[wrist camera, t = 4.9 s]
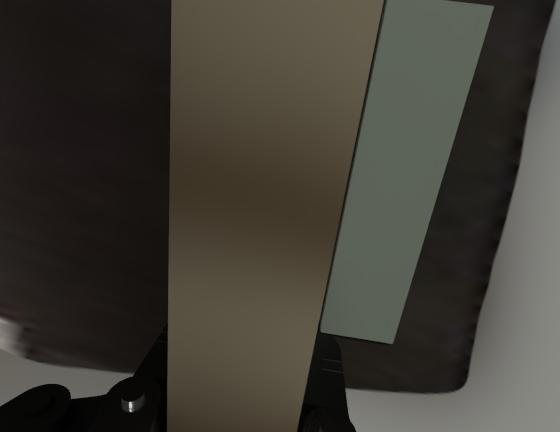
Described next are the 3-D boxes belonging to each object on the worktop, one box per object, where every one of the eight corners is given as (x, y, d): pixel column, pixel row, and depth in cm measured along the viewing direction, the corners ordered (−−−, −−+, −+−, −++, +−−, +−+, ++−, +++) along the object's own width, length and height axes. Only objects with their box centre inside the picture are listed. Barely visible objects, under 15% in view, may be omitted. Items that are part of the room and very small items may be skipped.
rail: (252, -438, 5) (183, -1087, 2) (440, -425, 5) (605, -1098, 2) (189, 607, 16) (163, 716, 13) (249, 619, 16) (236, 732, 13)
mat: (386, -3, 29) (388, -7, 28) (487, 9, 28) (493, 6, 28) (319, 326, 41) (319, 331, 40) (390, 338, 40) (392, 343, 39)
